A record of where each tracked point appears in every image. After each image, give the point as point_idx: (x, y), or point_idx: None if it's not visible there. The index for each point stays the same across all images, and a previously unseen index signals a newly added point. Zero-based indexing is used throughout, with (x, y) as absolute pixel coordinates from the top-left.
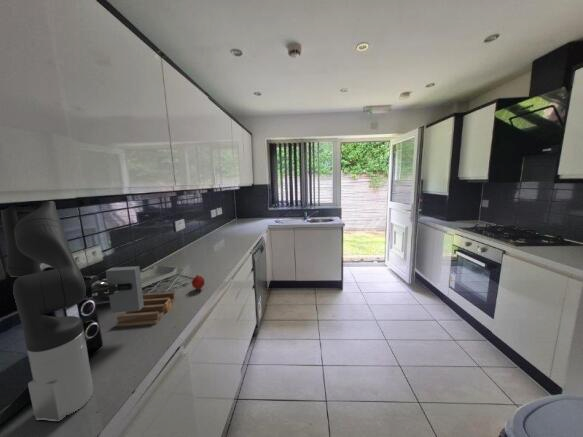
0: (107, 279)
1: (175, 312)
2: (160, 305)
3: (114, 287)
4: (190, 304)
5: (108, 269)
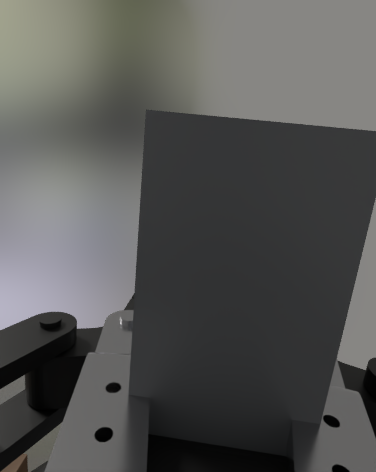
0: (331, 344)
1: (53, 441)
2: (8, 470)
3: (345, 368)
4: (16, 392)
5: (279, 122)
